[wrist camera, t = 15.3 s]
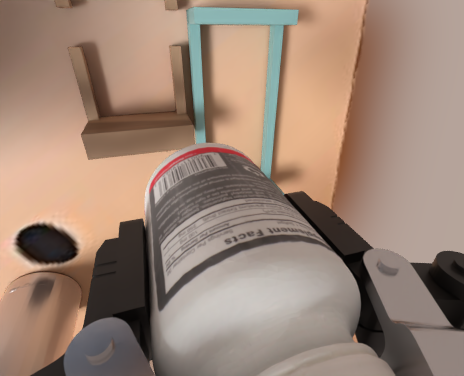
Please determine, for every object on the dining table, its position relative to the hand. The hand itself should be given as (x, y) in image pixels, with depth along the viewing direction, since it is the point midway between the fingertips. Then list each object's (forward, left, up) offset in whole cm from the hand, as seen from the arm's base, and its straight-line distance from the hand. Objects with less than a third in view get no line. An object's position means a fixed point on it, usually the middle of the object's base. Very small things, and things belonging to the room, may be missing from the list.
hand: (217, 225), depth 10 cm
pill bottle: (0, 0, -3) cm, 3 cm away
